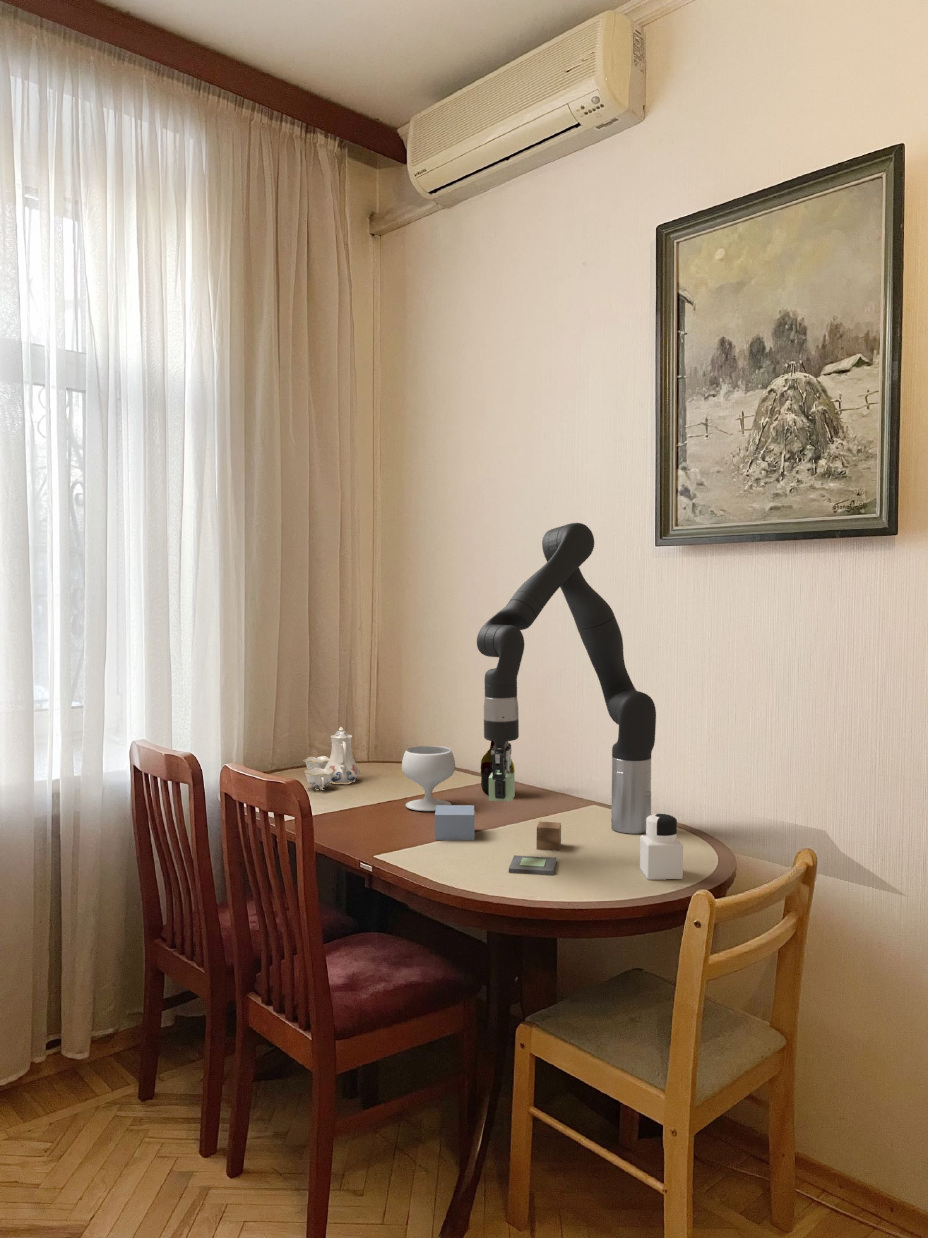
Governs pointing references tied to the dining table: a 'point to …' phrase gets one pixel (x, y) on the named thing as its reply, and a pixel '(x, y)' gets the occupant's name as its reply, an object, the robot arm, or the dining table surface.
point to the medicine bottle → (661, 849)
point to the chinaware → (333, 763)
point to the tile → (532, 865)
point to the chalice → (428, 772)
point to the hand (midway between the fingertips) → (502, 794)
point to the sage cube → (508, 785)
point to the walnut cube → (549, 836)
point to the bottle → (489, 769)
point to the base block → (454, 822)
